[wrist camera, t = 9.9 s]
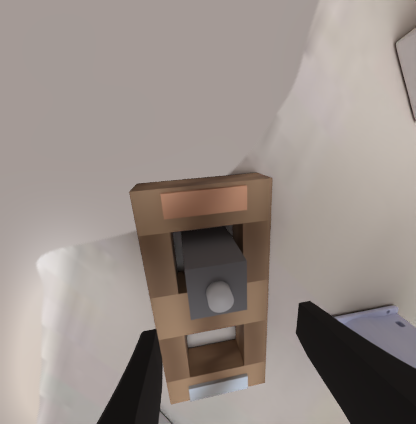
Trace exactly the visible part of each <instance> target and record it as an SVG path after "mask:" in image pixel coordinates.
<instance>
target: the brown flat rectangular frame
mask: <svg viewBox="0 0 416 424" xmlns="http://www.w3.org/2000/svg"><path fill="white" fill-rule="evenodd" d="M129 193H130V199H131V203H132V209H133V214H134V219H135V224H136V229H137V234H138V239H139V244H140V250H141V255H142V260H143V265H144V270H145V275H146V280H147V285H148V290H149V295H150V301H151V306H152V311H153V316H154V321H155V326H156V329H157V334H158V340H159V345H160V350H161V355H162V362H163V367H164V372H165V377H166V382H167V387H168V392H169V397H170V403H171V404H175V403H179V402H183V401H188V400H190V401H195V400H199V399H203V398H208V397H212V396H216V395H220V394H225V393H229V392H233V391H238V390H242V389H246V388H248V386H253V385H257V384H261V383H265V366H266V338H267V311H268V284H269V257H270V230H271V202H272V178H271V177H268V176H265V175H262V174H259V173H248V174H237V175H226V176H215V177H205V178H194V179H183V180H173V181H161V182H150V183H139V184H136V185H135V186H134V187H133V188H132V189H131V191H130V192H129ZM226 225H233V240H234V241H235V243H236V244H237V246H238V247H239V249H240V251H241V252H242V254H243V255H244V257H245V259H246V260H247V310H243V311H238V312H232V313H227V314H221V315H216V316H211V317H205V318H200V319H195V320H191V317H190V310H189V302H188V294H187V286H186V278H185V271H184V272H178V270H177V263H176V255H175V248H174V241H173V233H172V232H178V231H186V230H194V229H202V228H210V227H218V226H226ZM231 326H236V339H234V340H229V341H224V342H219V343H214V344H209V345H204V346H199V347H194V348H189V349H188V345H187V337H186V335H189V334H194V333H200V332H205V331H210V330H216V329H221V328H226V327H231Z"/></svg>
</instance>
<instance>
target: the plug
mask: <svg viewBox="0 0 416 424" xmlns="http://www.w3.org/2000/svg"><path fill="white" fill-rule="evenodd" d="M181 235H182V247H183V258H184V270H185V278H186V286H187V294H188V302H189V310H190V317H191V320H195V319H200V318H205V317H211V316H216V315H221V314H227V313H232V312H238V311H243V310H247V260H246V259H245V257H244V255H243V254H242V252H241V251H240V249H239V247H238V246H237V244H236V243H235V241H234V240H233V238H232V236H231V235H230V233H229V232H228V230H227V228H226V227H225V226H219V227H212V228H204V229H196V230H188V231H181Z"/></svg>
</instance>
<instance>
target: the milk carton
mask: <svg viewBox="0 0 416 424" xmlns="http://www.w3.org/2000/svg"><path fill="white" fill-rule="evenodd" d="M396 48H397V52H398V56H399V60H400V64H401V68H402V71H403V75H404V79H405V83H406V87H407V91H408V94H409V98H410V102H411V106H412V110H413V114H414V117H415V120H416V28H414V29H413V30H412V31H410V32H409V33H408V34H406V35H405V36H404V37H403V38H401V39H400V40H399V41H398V42H397V43H396Z"/></svg>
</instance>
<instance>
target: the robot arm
mask: <svg viewBox="0 0 416 424" xmlns="http://www.w3.org/2000/svg"><path fill="white" fill-rule="evenodd" d="M397 313H398V307H396V306H395V305H392V306H387V307H382V308H377V309H372V310H367V311H362V312H356V313H351V314H346V315H341V316H336V317H332V316H331V315H330V314H328V313H327V312H325V311H324V310H322V309H321V308H320V307H318V306H317V305H315V304H314V303H312V302H311V301H308V302H302V303H299V308H298V318H297V328H296V334H297V336H298V338H299V340H300V342H301V344H302V346H303V348H304V350H305V352H306V354H307V356H308V357H309V359H310V361H311V362H312V364H313V365H314V367H315V368H316V370H317V372H318V373H319V375H320V376H321V378H322V379H323V381H324V382H325V384H326V386H327V387H328V389H329V390H330V392H331V393H332V395H333V396H334V398H335V399H336V401H337V403H338V404H339V406H340V407H341V409H342V410H343V412H344V414H345V415H346V417H347V419H348V420H349V422H350V424H416V327H414V326H413V325H412V324H410V323H409V322H408V321H406V320H405V319H404V318H402V317H401V316H400V315H398V314H397ZM161 393H162V355H161V350H160V345H159V340H158V334H157V329H153V330H148V331H143V332H142V333H141V335H140V338H139V340H138V343H137V345H136V348H135V350H134V352H133V354H132V357H131V359H130V361H129V363H128V365H127V367H126V369H125V371H124V373H123V375H122V377H121V380H120V382H119V384H118V386H117V387H116V389H115V391H114V393H113V395H112V397H111V399H110V401H109V402H108V404H107V406H106V408H105V410H104V412H103V413H102V415H101V417H100V419H99V420H98V422H97V424H158V423H159V413H160V403H161Z"/></svg>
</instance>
